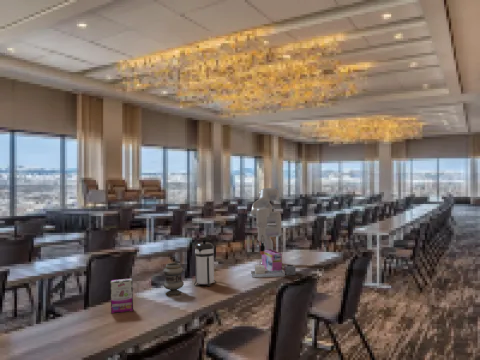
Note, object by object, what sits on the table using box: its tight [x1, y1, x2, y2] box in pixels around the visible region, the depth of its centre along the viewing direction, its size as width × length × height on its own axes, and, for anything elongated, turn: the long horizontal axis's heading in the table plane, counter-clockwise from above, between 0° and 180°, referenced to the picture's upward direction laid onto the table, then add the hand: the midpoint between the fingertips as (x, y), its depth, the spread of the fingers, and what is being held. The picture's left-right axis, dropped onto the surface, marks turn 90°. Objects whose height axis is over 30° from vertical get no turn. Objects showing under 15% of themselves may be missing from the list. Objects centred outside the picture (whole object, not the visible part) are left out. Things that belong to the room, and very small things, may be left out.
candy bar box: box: [110, 277, 134, 314], centre depth 208 cm, size 11×5×16 cm, turn 105°
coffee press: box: [193, 238, 217, 288], centre depth 262 cm, size 17×16×30 cm
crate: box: [254, 264, 266, 274], centre depth 282 cm, size 7×6×7 cm
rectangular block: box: [250, 268, 286, 278], centre depth 282 cm, size 10×23×3 cm, turn 92°
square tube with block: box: [283, 264, 297, 276], centre depth 288 cm, size 12×7×6 cm, turn 2°
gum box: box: [261, 249, 283, 271], centre depth 304 cm, size 24×8×14 cm, turn 17°
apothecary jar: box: [162, 262, 185, 297], centre depth 240 cm, size 12×12×18 cm
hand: (262, 250), depth 288 cm, fingers closed on handle peg, 3 cm apart
